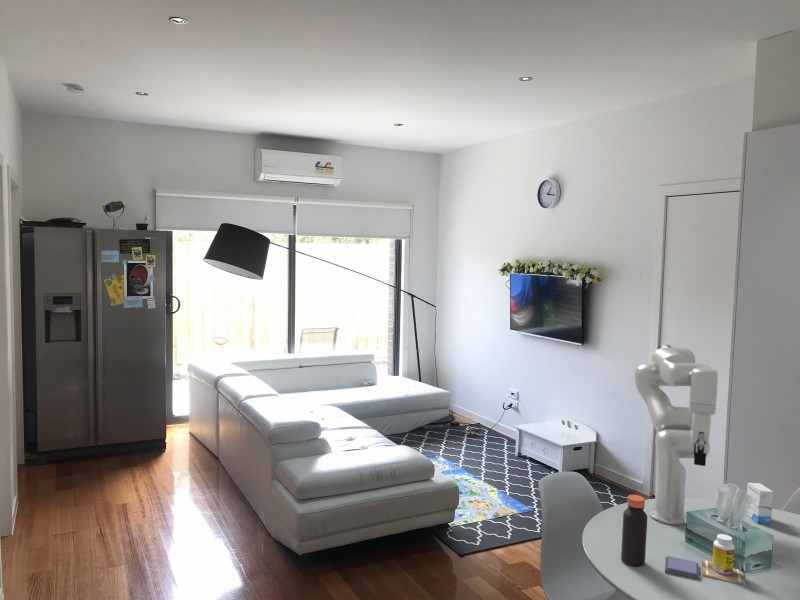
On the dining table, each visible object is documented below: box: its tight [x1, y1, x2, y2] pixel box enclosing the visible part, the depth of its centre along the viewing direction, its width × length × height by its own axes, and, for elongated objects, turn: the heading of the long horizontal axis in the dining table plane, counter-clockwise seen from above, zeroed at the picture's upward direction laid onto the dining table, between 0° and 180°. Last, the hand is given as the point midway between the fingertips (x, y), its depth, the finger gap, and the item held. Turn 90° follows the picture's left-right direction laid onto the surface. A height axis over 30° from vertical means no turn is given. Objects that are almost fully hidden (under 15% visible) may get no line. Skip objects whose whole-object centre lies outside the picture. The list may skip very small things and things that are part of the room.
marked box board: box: [701, 558, 746, 586], centre depth 184 cm, size 11×11×1 cm
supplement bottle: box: [711, 533, 736, 574], centre depth 184 cm, size 6×6×10 cm
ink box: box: [746, 482, 774, 525], centre depth 221 cm, size 9×5×12 cm, turn 179°
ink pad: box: [664, 555, 700, 581], centre depth 185 cm, size 9×9×2 cm
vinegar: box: [620, 494, 648, 568], centre depth 188 cm, size 7×7×20 cm
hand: (699, 460), depth 198 cm, fingers open, 9 cm apart
